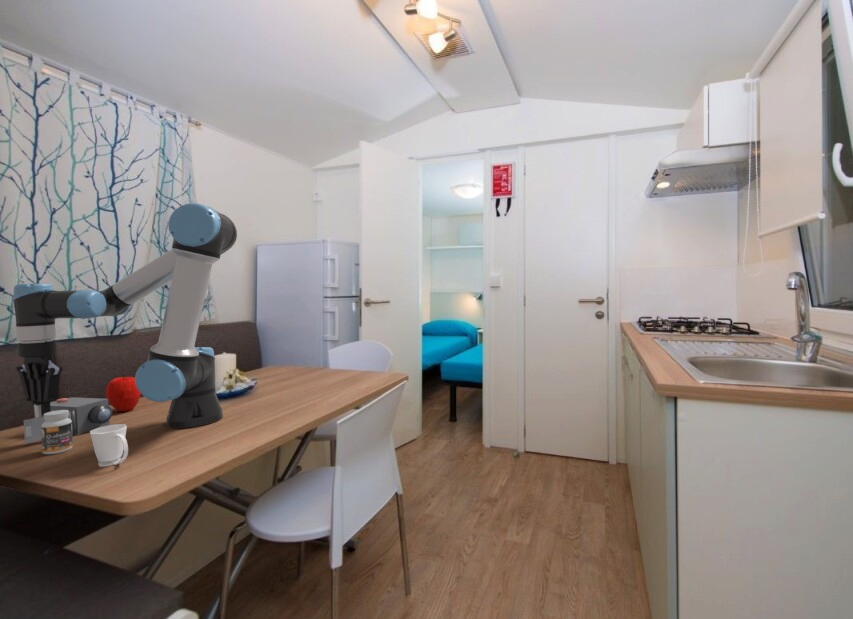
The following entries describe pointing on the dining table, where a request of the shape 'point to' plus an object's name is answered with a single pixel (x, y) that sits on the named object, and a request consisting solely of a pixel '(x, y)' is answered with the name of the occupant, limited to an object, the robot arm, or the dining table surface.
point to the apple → (123, 393)
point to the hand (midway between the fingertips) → (43, 426)
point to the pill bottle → (56, 432)
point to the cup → (110, 444)
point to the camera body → (85, 412)
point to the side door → (34, 427)
